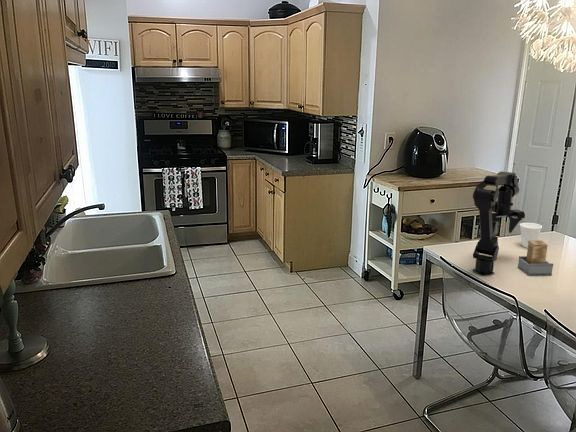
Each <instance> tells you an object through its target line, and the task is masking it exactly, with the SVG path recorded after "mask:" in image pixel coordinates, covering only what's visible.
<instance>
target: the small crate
mask: <svg viewBox="0 0 576 432" xmlns="http://www.w3.org/2000/svg"><path fill="white" fill-rule="evenodd" d="M548 247H549V245H548V244H547V243H546V242H544V241H543V240H538V241H528V248H526V249H527V251H526V256H527V257H526V262H527V263H528V264H545V260H546V258H547V254H548ZM546 261H547V260H546Z"/></svg>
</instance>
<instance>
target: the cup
mask: <svg viewBox="0 0 576 432" xmlns="http://www.w3.org/2000/svg"><path fill="white" fill-rule="evenodd" d="M519 226H520V238H521V247H523V248H525V249H528V241H539V238H540V237H539V236H540V235H541V232H542V228H543V226H542V224H539V223H537V222H536V223H534V222H521V223H519Z"/></svg>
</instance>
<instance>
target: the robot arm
mask: <svg viewBox="0 0 576 432" xmlns="http://www.w3.org/2000/svg"><path fill="white" fill-rule="evenodd" d="M518 181H519V180H518V176H517V175H516V173H515V172H510V171H502V170H501V171H499V172H497V174H496V175H495V174H494V175H486V176H485V177H484V179H483V180H482V181H481V182H480V183H478V184H477V185H476V187H475V188H474V191H473V193H472V199H473V202H474V206H475V207H476V208H477V209H478V211H479V227H480V228H479V229H480V239H479V240H478V241H477V243H476V246H475V248H474V251H473V254H472V258H473V259H476V261H475V267H474V268H473V269H472V271H473V272H475V273H477V274H478V275H480V276H488V275H490V276H491V275H494V274H495V272H494V265H495V263H494V262H495V261H497V259H498V255H499V250H500V247H499V243H498V242H499V241H498V240H499V239H498V237H497V236H495V235H494V233H495V229H496V223H497V221H496V220H497V219H499V218H508V220H509V223H508V233H509V234H512V232H513V231H514V229H515V228H516V226H517V225H518V224H520V222H521V221H523V219H525V218H526V213H525V211H522V210H519V209H516V208H515V209H512V208H511V207H512V206H514V203H513V202H512V199H513V197H515V196H517V195H518V194H519V193H520V187H519V182H518ZM487 186H493V187H495V190H493V189H485V188H486V187H487ZM499 186H500V187H499Z"/></svg>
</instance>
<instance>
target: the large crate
mask: <svg viewBox="0 0 576 432" xmlns="http://www.w3.org/2000/svg"><path fill="white" fill-rule="evenodd" d="M526 257H527V255H526V256H525V255H524V256H523V255H522V256H518V263H517V268H518V269H519V270H521V271H522V272H523V273H525V274H526V275H527V276H529V277H530V276H531V277H533V276H535V277H536V276H552V274H553V267H554V263H552V262H551V263H550V262H549V261H547V260H545V264H528V263H527V262H526Z"/></svg>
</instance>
